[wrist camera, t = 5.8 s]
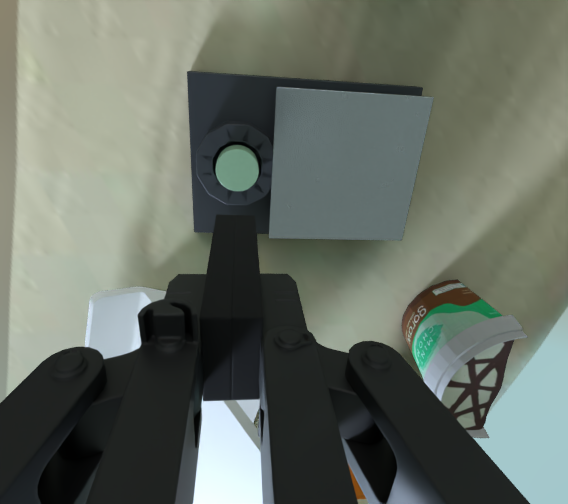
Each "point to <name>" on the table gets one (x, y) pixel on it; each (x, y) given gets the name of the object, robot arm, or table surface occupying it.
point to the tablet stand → (215, 414)
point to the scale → (243, 136)
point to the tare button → (237, 168)
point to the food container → (460, 349)
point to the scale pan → (344, 163)
